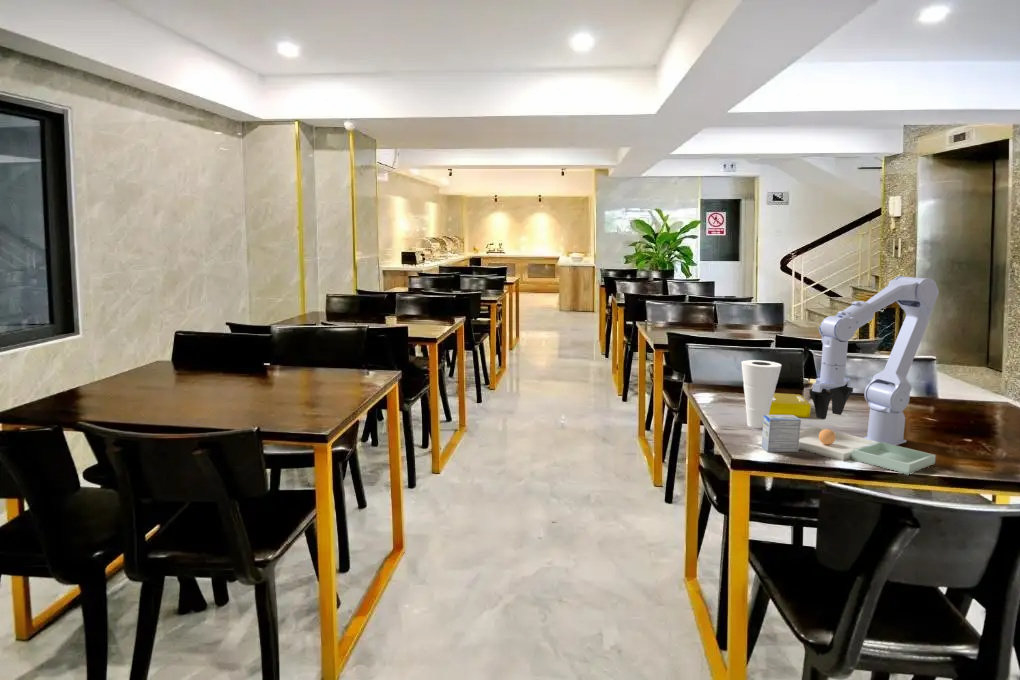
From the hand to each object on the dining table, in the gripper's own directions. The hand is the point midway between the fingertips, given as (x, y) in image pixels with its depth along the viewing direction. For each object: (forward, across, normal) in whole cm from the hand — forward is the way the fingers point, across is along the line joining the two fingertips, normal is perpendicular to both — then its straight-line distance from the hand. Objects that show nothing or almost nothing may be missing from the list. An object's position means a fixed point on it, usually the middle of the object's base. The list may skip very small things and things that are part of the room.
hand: (829, 416), depth 189 cm
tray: (+8, -1, 0) cm, 8 cm away
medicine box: (+8, +13, -5) cm, 16 cm away
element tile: (+9, -25, -29) cm, 39 cm away
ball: (+5, 0, 0) cm, 5 cm away
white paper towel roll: (+8, -2, -22) cm, 24 cm away
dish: (+8, -1, +16) cm, 18 cm away
